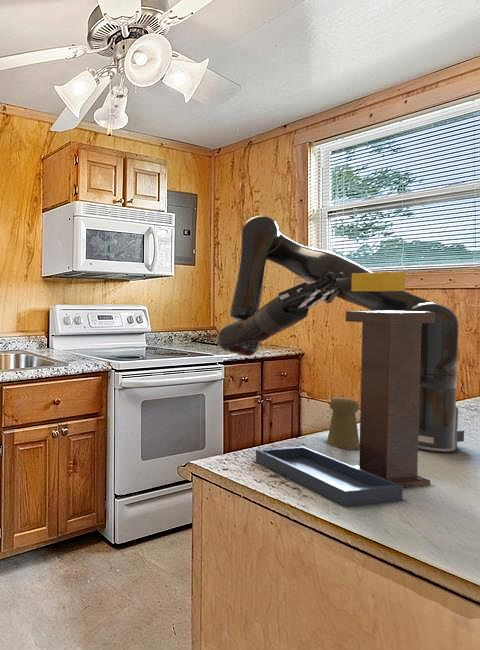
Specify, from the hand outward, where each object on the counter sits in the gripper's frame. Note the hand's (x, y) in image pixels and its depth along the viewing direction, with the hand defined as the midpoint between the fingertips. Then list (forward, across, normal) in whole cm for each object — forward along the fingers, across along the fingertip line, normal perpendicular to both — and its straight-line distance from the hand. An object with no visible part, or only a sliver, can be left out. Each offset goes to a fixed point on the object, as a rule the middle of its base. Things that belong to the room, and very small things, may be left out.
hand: (338, 276), depth 90 cm
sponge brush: (+1, 0, +4) cm, 4 cm away
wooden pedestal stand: (-11, 0, +39) cm, 40 cm away
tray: (-12, -12, +38) cm, 42 cm away
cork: (-26, +10, +31) cm, 41 cm away
